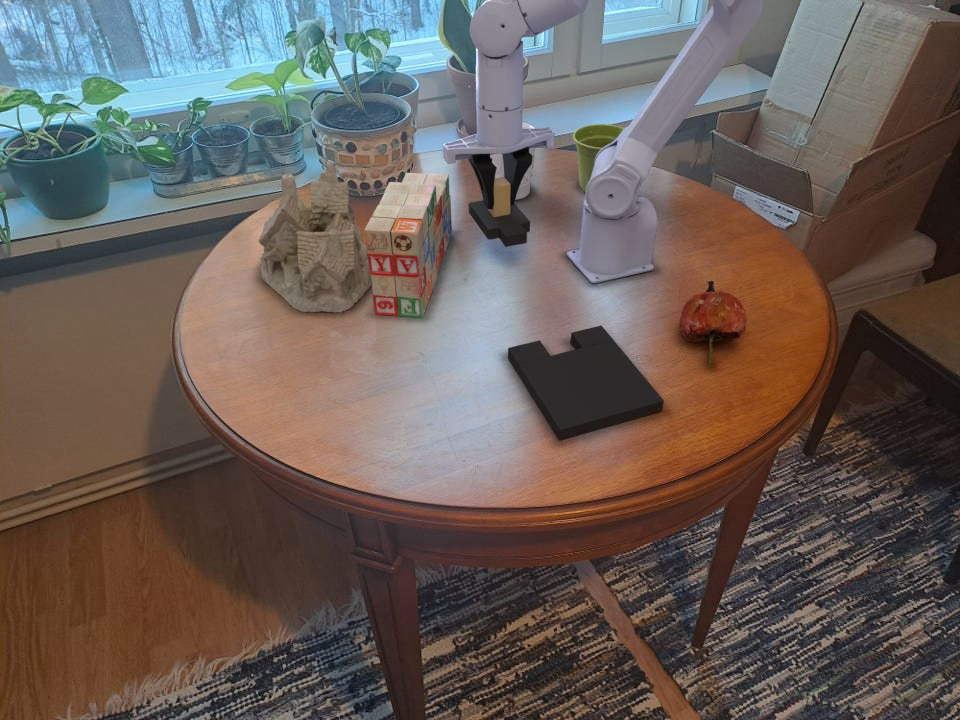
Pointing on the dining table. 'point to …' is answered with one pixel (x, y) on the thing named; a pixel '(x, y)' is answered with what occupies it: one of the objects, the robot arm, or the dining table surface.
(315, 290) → the ceramic cottage
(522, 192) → the white cup
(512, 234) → the small pad
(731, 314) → the pomegranate
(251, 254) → the dining table surface
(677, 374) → the dining table surface
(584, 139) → the plant pot
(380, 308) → the stack of blocks
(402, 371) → the dining table surface
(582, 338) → the big pad
